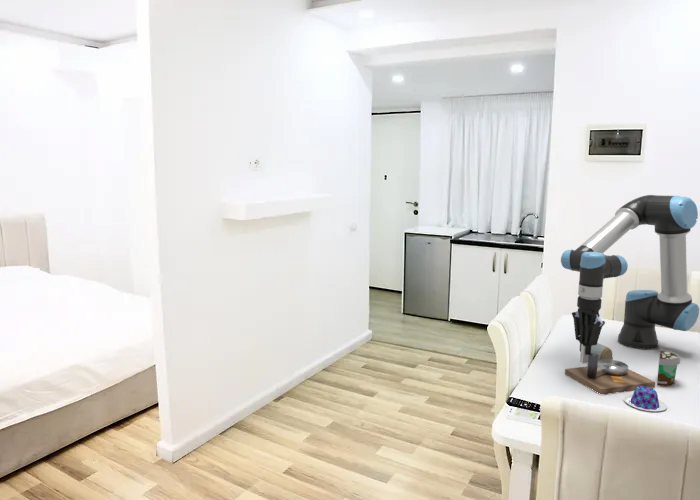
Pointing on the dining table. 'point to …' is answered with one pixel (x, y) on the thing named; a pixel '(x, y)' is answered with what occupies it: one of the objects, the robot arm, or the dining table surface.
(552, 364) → the dining table surface
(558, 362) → the dining table surface
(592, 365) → the steel serving spoon
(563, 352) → the dining table surface
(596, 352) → the ceramic mug
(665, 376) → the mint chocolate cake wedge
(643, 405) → the pudding
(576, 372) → the wooden cutting board
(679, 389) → the dining table surface
